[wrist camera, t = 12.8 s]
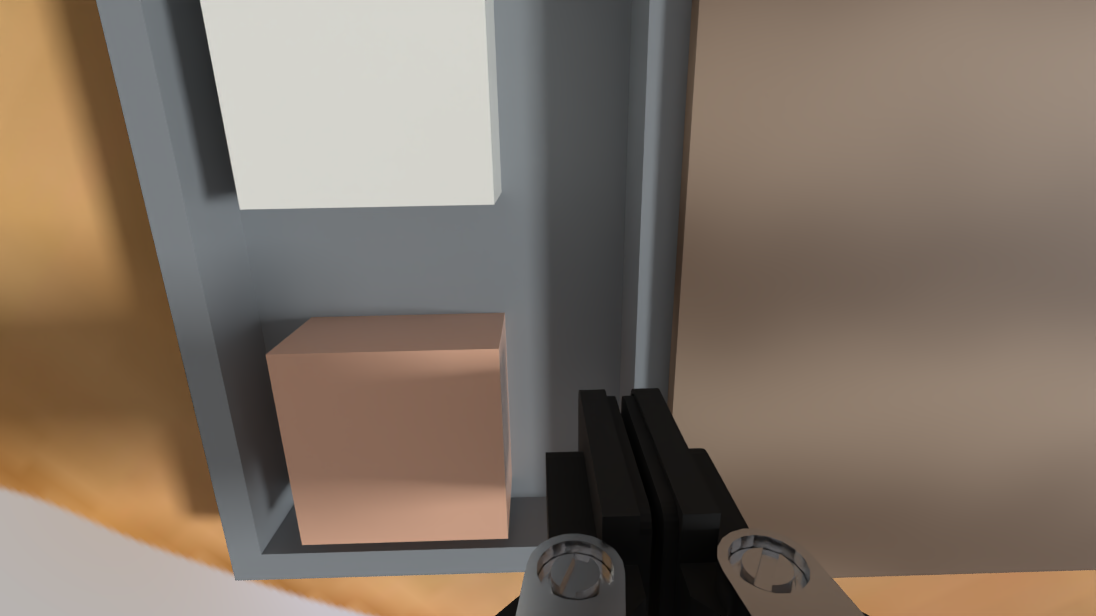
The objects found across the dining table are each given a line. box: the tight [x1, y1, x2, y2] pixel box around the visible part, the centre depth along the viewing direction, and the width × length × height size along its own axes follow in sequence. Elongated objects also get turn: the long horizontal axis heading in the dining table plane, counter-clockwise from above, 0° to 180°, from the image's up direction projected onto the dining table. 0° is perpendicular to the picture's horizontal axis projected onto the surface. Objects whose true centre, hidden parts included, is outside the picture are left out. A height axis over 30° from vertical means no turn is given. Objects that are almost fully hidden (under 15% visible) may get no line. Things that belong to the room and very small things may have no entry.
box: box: [96, 0, 692, 580], centre depth 13 cm, size 17×11×2 cm, turn 1°
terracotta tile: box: [266, 313, 512, 545], centre depth 13 cm, size 5×5×2 cm
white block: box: [200, 0, 502, 210], centre depth 11 cm, size 5×5×2 cm
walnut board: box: [667, 0, 1096, 578], centre depth 13 cm, size 17×12×3 cm
